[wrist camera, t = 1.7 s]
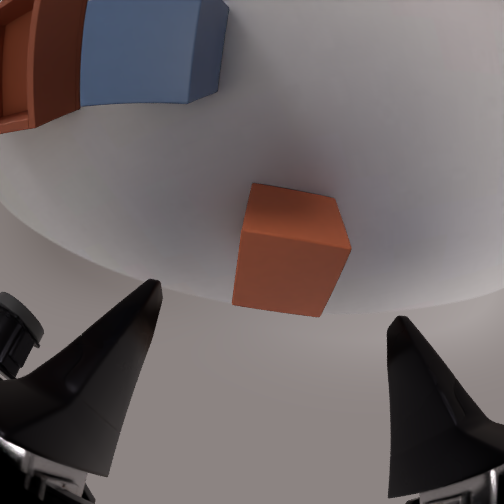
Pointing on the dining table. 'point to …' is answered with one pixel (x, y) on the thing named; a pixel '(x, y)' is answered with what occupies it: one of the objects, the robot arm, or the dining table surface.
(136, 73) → the slate block
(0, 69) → the terracotta bin
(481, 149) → the dining table surface
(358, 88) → the dining table surface
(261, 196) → the terracotta block
